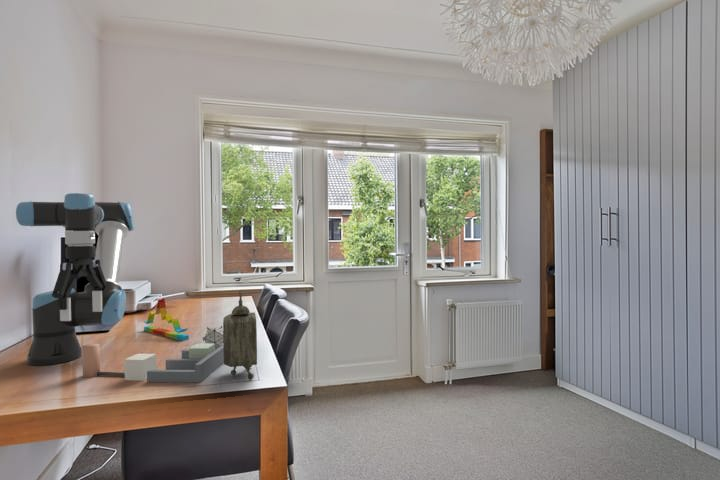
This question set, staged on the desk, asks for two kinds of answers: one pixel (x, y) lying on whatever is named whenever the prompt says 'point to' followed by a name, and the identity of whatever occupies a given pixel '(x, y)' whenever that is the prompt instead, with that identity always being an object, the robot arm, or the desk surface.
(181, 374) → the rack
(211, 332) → the grey spiky lattice polyhedron
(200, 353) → the sage block
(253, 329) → the tabletop clock
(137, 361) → the corded block
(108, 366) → the desk surface
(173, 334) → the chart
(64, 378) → the desk surface
